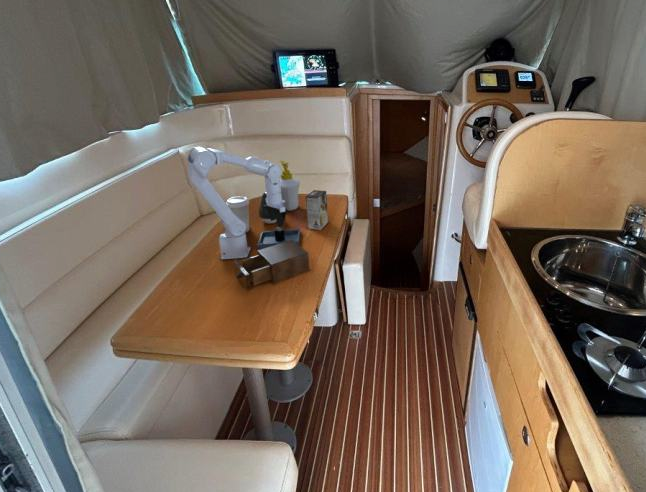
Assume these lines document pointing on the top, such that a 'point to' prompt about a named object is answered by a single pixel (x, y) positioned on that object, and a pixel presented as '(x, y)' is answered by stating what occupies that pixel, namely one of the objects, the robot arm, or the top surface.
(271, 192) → the robot arm
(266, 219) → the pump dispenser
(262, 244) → the tray
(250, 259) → the drawer
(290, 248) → the cabinet
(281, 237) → the spice tin
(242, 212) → the coffee cup
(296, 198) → the soap bottle
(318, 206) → the coffee box
